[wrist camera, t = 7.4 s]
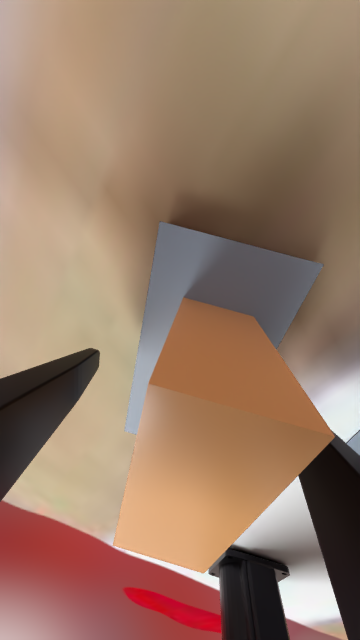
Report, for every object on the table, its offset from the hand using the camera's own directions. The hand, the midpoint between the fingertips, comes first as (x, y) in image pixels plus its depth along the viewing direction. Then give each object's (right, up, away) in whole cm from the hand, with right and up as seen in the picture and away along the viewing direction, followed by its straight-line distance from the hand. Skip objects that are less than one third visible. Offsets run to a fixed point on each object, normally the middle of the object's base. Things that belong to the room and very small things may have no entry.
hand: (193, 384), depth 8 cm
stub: (0, +1, +2) cm, 2 cm away
